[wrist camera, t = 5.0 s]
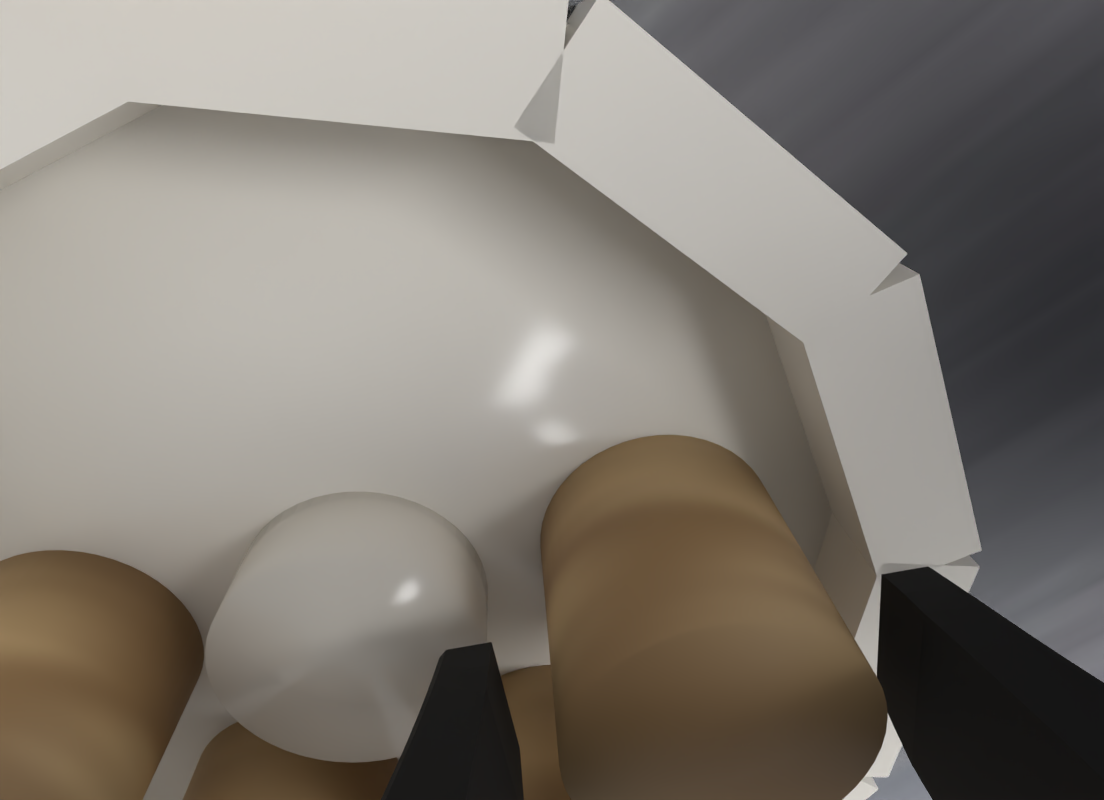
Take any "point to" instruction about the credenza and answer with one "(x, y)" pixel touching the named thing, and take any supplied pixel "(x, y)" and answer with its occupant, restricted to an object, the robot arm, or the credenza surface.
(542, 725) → the seated bead
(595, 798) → the bead
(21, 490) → the tray
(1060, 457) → the credenza surface
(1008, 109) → the credenza surface
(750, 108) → the credenza surface
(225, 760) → the seated bead
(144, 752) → the seated bead
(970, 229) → the credenza surface
